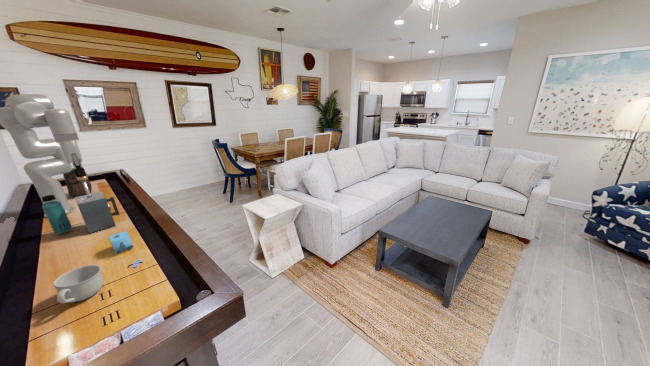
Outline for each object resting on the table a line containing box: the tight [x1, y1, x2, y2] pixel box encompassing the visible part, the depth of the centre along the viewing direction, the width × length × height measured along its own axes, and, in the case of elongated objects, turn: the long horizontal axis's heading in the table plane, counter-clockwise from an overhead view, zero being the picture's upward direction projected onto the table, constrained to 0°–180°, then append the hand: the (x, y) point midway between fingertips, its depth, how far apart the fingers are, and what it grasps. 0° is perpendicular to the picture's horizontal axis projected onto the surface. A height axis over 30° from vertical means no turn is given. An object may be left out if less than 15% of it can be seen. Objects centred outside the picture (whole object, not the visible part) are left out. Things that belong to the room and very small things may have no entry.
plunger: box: [77, 174, 92, 198], centre depth 116 cm, size 8×8×18 cm
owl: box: [62, 167, 93, 199], centre depth 162 cm, size 13×13×20 cm
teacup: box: [52, 264, 104, 304], centre depth 76 cm, size 14×11×8 cm
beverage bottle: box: [41, 195, 73, 235], centre depth 114 cm, size 6×7×20 cm
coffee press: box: [74, 191, 120, 235], centre depth 120 cm, size 10×13×17 cm
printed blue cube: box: [108, 230, 134, 255], centre depth 101 cm, size 12×6×8 cm, turn 48°
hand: (81, 176), depth 113 cm, fingers closed
